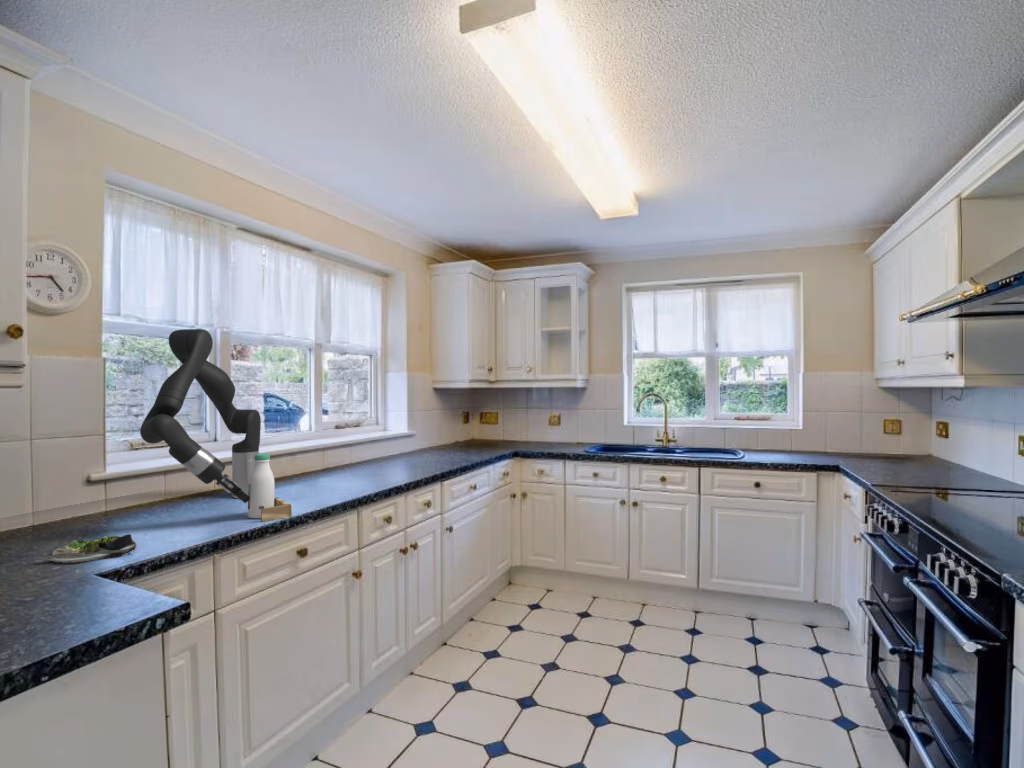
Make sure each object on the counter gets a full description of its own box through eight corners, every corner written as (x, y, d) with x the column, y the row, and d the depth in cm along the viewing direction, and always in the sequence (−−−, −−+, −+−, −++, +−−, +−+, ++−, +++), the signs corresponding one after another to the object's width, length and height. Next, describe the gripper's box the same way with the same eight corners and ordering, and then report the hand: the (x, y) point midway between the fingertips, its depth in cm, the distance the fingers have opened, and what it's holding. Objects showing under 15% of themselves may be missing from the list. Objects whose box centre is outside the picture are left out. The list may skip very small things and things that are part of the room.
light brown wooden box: (248, 513, 177) (247, 499, 177) (277, 509, 183) (277, 495, 183) (260, 522, 166) (259, 506, 166) (291, 517, 172) (291, 502, 172)
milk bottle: (279, 514, 176) (280, 453, 176) (262, 519, 168) (264, 456, 169) (258, 512, 178) (260, 452, 178) (242, 518, 170) (243, 455, 171)
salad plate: (39, 574, 122) (39, 554, 122) (36, 556, 136) (36, 538, 136) (140, 555, 136) (140, 537, 136) (129, 540, 149) (129, 523, 149)
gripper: (218, 457, 159) (262, 494, 167) (210, 453, 170) (251, 488, 177) (197, 477, 156) (243, 513, 163) (190, 472, 166) (234, 506, 174)
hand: (247, 500), depth 170 cm, fingers closed
